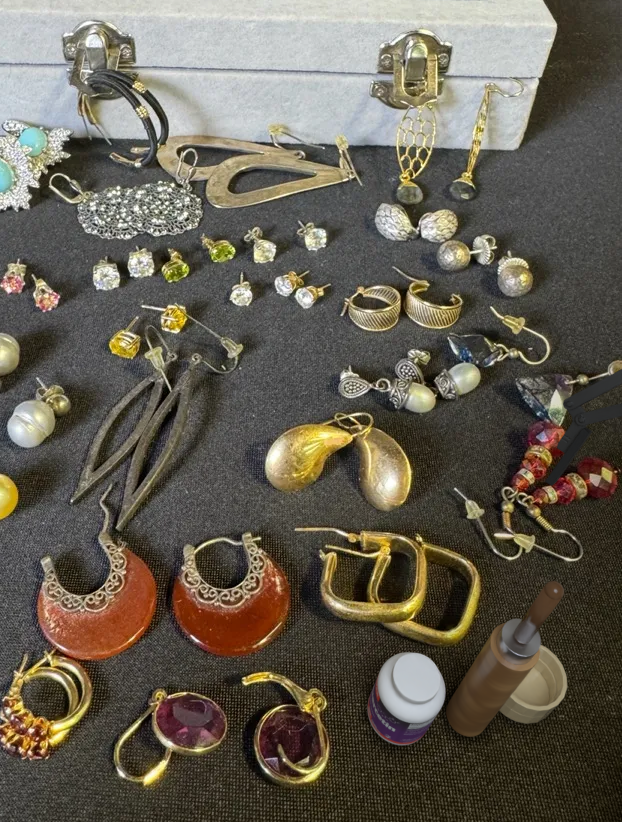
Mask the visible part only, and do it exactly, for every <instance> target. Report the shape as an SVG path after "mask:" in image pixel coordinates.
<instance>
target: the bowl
mask: <svg viewBox="0 0 622 822" xmlns="http://www.w3.org/2000/svg"><path fill="white" fill-rule="evenodd" d="M567 690H568V677H567V674H566V671H565V668H564V665H563V664H562V662H561V661H560V659H559V658H558V656H557V655H556V654H555V653H554V652H552V651H551V650H550V649H549V648H548V647H546V646H544V645H543V644H541V645H540V656H539V659H538V662H537V663H536V665H535V666H534V667H533V668H532V670H531V671H530V672H529V673H528V675H527V676H526V677H525V679H524V680H523V681H522V682H521V684H520V685H519V686H518V687H517V689H516V690H515V691H514V692H513V694H512V695H511V696H510V698H509V699H508V700H507V701H506V703H505V704H504V705H503V706H502V708H501V709H500V710H499V711H498V712H500V714H503V716H505V717H507V718H508V719H510V720H512V721H514V722H516V723H520V724H527V725H528V724H536V723H539V722H541V721H543V720H544V719H546V718H547V717H548V716H550V714H551V713H552V712H553V711H554V710H555V709H556V708H557V707H558V706H559V704H560V703H561V702H562V701H563V700H564V698H565V696H566V694H567Z"/></svg>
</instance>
